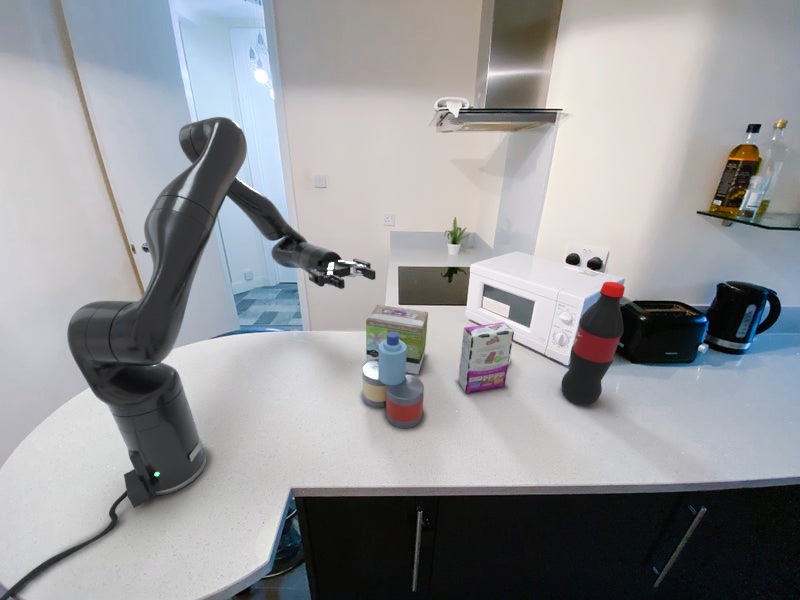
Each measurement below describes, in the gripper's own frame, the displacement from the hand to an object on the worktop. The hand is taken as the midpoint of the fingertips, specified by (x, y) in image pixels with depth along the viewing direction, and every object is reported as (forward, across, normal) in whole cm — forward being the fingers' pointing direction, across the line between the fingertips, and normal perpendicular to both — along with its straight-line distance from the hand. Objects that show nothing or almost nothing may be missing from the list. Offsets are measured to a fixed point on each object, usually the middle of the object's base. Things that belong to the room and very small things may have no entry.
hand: (359, 279), depth 69 cm
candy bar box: (+21, +22, +28) cm, 42 cm away
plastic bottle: (+11, 0, +20) cm, 23 cm away
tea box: (-1, +13, +28) cm, 31 cm away
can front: (+15, 0, +28) cm, 32 cm away
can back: (+7, 0, +28) cm, 29 cm away
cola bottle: (+40, +36, +28) cm, 61 cm away
